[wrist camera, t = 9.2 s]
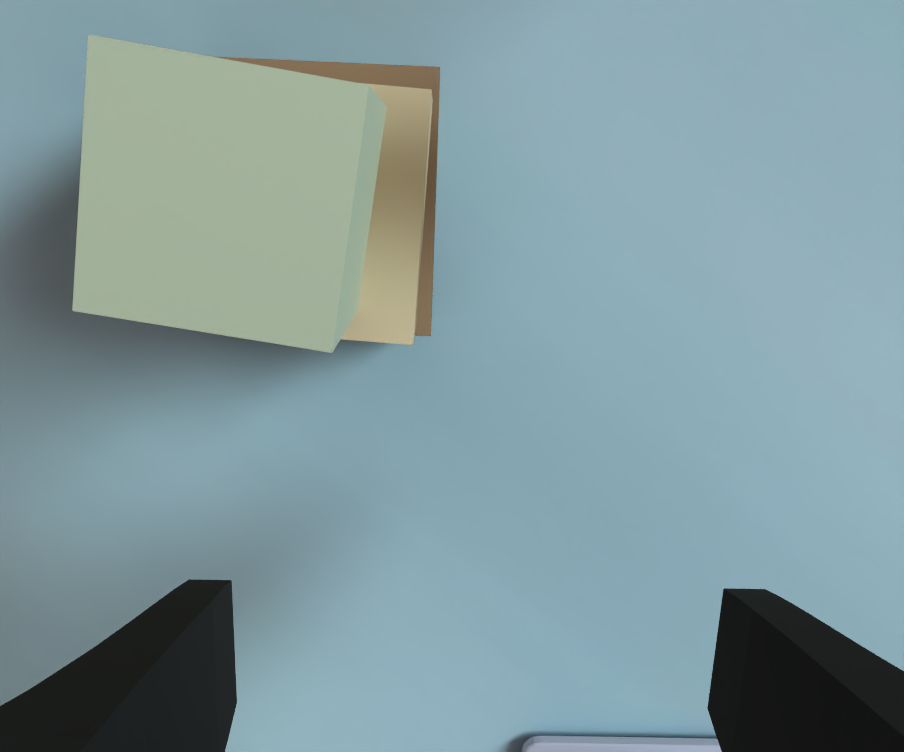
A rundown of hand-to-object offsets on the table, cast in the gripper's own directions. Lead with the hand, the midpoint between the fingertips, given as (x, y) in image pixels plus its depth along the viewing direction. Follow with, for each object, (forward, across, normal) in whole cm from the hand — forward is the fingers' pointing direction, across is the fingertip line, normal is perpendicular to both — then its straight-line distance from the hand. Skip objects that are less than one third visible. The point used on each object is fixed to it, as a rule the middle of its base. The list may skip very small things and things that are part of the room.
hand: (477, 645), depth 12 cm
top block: (+6, +4, -6) cm, 9 cm away
